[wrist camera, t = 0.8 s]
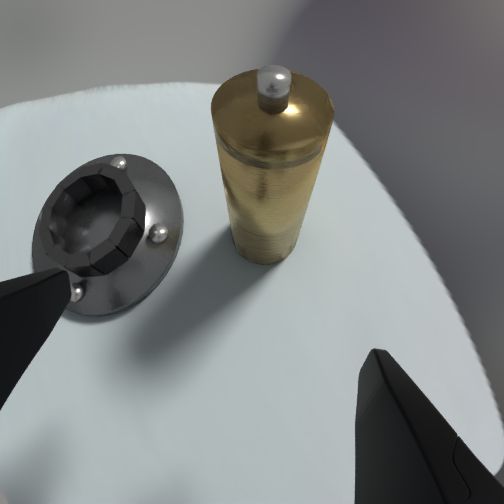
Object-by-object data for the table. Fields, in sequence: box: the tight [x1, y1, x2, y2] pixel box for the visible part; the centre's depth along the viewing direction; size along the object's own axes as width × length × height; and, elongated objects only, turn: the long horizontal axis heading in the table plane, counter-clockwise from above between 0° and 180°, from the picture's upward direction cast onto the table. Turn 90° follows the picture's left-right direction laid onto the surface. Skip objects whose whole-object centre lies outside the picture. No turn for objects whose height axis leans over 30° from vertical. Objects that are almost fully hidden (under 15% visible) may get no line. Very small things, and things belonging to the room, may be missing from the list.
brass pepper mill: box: [211, 65, 334, 264], centre depth 17 cm, size 5×5×14 cm
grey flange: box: [32, 154, 184, 316], centre depth 22 cm, size 14×14×4 cm
